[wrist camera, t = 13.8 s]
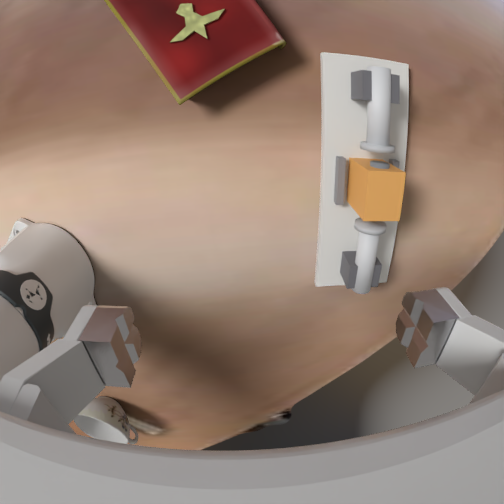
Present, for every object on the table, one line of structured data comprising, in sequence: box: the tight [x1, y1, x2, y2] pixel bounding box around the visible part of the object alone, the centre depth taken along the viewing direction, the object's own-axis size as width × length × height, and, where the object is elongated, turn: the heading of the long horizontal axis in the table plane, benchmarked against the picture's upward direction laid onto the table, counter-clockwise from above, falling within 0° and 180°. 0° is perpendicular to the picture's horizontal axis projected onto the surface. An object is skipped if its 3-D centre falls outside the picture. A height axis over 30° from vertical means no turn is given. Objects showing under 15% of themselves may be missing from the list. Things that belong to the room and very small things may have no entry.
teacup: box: [74, 396, 138, 444], centre depth 52 cm, size 15×12×8 cm
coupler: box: [347, 158, 406, 221], centre depth 29 cm, size 6×4×6 cm
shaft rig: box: [314, 52, 409, 294], centre depth 30 cm, size 28×10×6 cm, turn 2°
